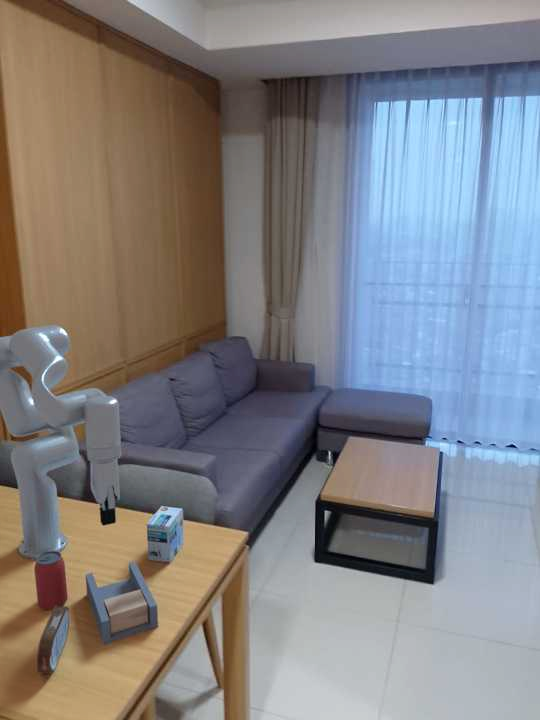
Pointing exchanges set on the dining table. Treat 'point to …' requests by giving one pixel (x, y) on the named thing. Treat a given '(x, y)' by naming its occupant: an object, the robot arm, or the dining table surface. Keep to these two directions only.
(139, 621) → the brown cardboard box
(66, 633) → the tin
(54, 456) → the robot arm
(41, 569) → the beer can
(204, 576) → the dining table surface
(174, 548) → the light bulb box
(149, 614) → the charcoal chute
